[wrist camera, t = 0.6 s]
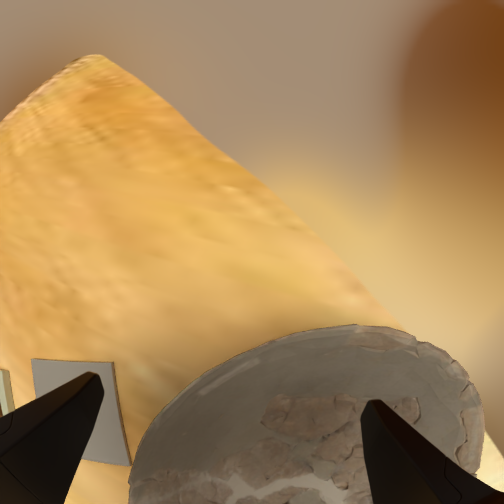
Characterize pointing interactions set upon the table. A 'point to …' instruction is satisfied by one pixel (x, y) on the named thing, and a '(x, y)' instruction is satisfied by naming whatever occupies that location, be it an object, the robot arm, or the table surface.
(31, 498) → the robot arm
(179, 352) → the table surface
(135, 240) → the table surface
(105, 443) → the slate pad
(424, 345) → the ceramic bowl
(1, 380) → the pocket frame
